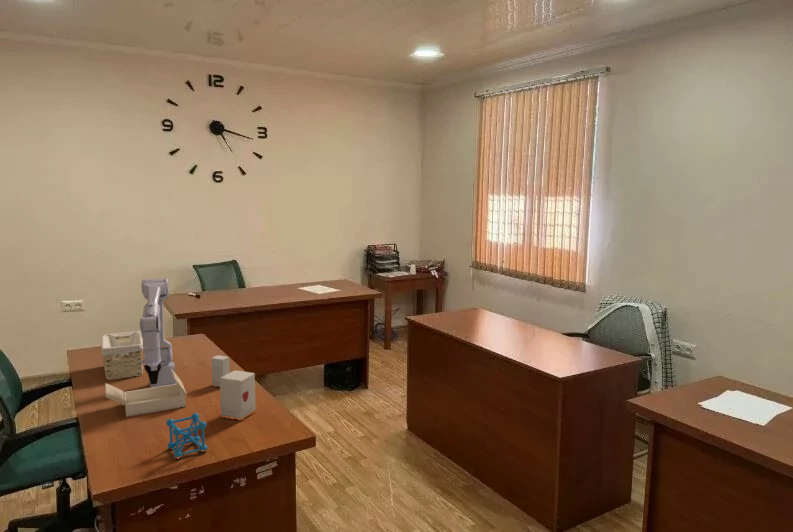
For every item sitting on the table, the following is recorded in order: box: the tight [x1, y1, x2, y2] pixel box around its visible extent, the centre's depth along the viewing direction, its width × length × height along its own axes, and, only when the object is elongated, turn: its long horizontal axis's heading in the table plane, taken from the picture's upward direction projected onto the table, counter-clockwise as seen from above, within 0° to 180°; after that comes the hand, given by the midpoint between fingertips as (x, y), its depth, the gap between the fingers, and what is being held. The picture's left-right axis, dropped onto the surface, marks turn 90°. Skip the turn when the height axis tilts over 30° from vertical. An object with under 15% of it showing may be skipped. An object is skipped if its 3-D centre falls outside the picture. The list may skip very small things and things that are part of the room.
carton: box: [123, 383, 187, 418], centre depth 209 cm, size 20×14×4 cm
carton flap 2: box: [171, 368, 188, 395], centre depth 212 cm, size 7×14×1 cm
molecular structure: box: [166, 412, 208, 458], centre depth 174 cm, size 10×10×10 cm
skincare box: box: [210, 354, 231, 387], centre depth 229 cm, size 6×4×12 cm
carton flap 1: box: [104, 382, 125, 406], centre depth 203 cm, size 7×14×1 cm
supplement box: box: [219, 370, 256, 418], centre depth 200 cm, size 9×9×15 cm
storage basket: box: [100, 330, 144, 381], centre depth 246 cm, size 24×16×15 cm
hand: (153, 383), depth 208 cm, fingers closed
